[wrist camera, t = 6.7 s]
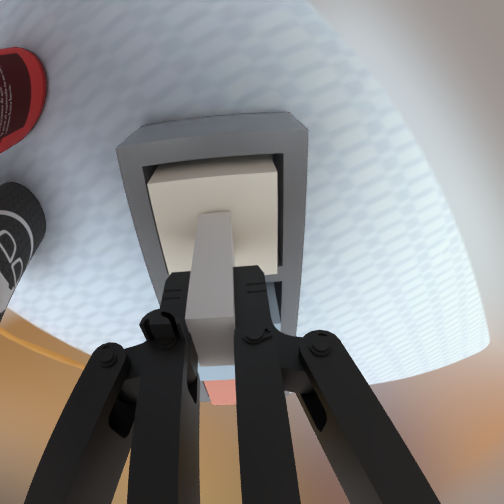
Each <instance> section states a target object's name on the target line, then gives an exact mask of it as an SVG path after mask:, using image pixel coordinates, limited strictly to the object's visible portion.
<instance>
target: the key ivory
mask: <svg viewBox="0 0 504 504" xmlns="http://www.w3.org/2000/svg"><path fill="white" fill-rule="evenodd" d="M147 186H148V190H149V195H150V200H151V204H152V208H153V213H154V217H155V221H156V226H157V230H158V234H159V238H160V242H161V246H162V249H163V253H164V257H165V261H166V265H167V268H168V272H169V275H170V274H171V273H172V272H184V271H191V266H192V259H193V252H194V245H195V238H196V231H197V225H198V219H199V214H205V213H216V212H228V211H231V222H232V232H233V243H234V253H235V267H239V266H252V265H258V266H259V267H260V268H261V270H262V271H263V272H264V275H271V274H277V249H278V194H277V170H276V168H275V165H274V163H273V161H272V158H271V156H270V154H256V155H240V156H228V157H216V158H206V159H196V160H187V161H179V162H171V163H163V164H159V165H158V167H157V169H156V170H155V172H154V173H153V175H152V177H151V179H150V180H149V182H148V184H147Z"/></svg>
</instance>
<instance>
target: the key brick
mask: <svg viewBox="0 0 504 504" xmlns="http://www.w3.org/2000/svg"><path fill="white" fill-rule="evenodd" d="M204 384H205V386H206V389H207V392H208V394H209V397H210V400H211V402H212V405H227V404H236V386H235V379H231V380H211V381H204Z"/></svg>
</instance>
